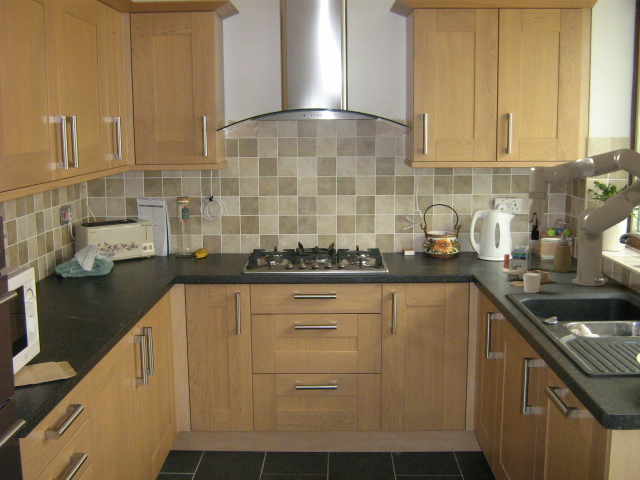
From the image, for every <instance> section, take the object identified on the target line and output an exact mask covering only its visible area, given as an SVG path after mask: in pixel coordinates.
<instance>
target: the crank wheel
mask: <svg viewBox="0 0 640 480" xmlns="http://www.w3.org/2000/svg"><path fill="white" fill-rule="evenodd" d="M502 273H503V274H504V275H508V274H510V275H523V274H524V273H525V269H523V268H518V267H517V266H513V265H510V253H509V254H508V253H504V254H503V268H502Z"/></svg>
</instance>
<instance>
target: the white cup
mask: <svg viewBox="0 0 640 480" xmlns="http://www.w3.org/2000/svg"><path fill="white" fill-rule="evenodd" d="M522 277H523V278H522V279H523V282H524V287H523V290H524V293H525V292H526V293H528V292H529V293H530V294H536V292H537V293H539V292H540V285H541V283H540V279H541V274H538V273H524V274H522Z"/></svg>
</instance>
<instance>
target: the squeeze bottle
mask: <svg viewBox="0 0 640 480" xmlns="http://www.w3.org/2000/svg"><path fill="white" fill-rule="evenodd" d="M569 242H570V241H569V240H568V239H567V235H566V232H564V231H563V232H561V237H560V239H558V240H557V244H556V245H555V248H554V254H553V255H554V256H553V268H554V271H555V272H556V273H561V274H562V273H563V274H564V273H565V274H566V273H569V272H570V270H571V267H572V264H573V263H572V248H571V245H569Z"/></svg>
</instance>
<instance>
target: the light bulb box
mask: <svg viewBox="0 0 640 480" xmlns="http://www.w3.org/2000/svg"><path fill="white" fill-rule="evenodd" d="M512 251H513V252H512V266H517V267H518V268H523V269H525V273H526V272H527V271H531V266H532V250H529V246H527V245H526V246H525V245H516V246H515V247H513V250H512Z"/></svg>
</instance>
